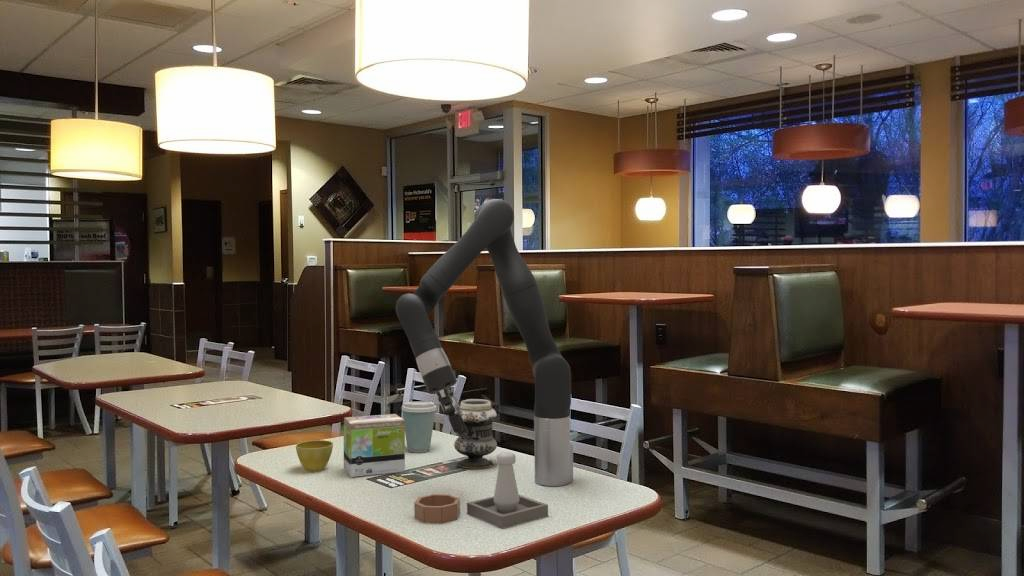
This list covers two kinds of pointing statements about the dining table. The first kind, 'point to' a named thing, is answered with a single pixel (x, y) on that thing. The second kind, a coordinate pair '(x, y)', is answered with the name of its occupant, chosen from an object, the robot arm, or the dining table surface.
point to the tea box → (374, 445)
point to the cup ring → (437, 508)
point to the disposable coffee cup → (418, 425)
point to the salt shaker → (506, 484)
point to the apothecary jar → (476, 433)
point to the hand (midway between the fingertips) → (461, 432)
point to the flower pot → (314, 454)
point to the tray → (523, 513)
